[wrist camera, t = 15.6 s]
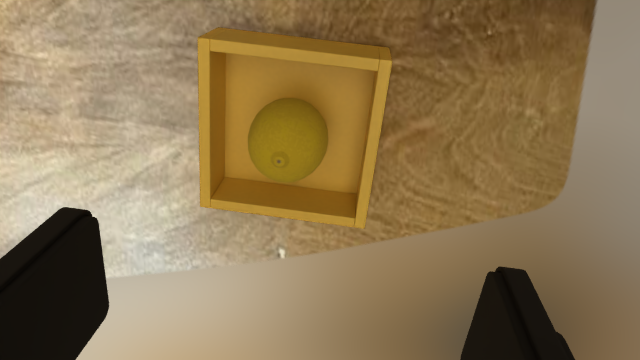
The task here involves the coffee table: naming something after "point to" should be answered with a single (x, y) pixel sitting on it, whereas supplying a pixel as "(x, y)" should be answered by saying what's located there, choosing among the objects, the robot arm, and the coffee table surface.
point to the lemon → (287, 140)
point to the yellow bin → (290, 82)
